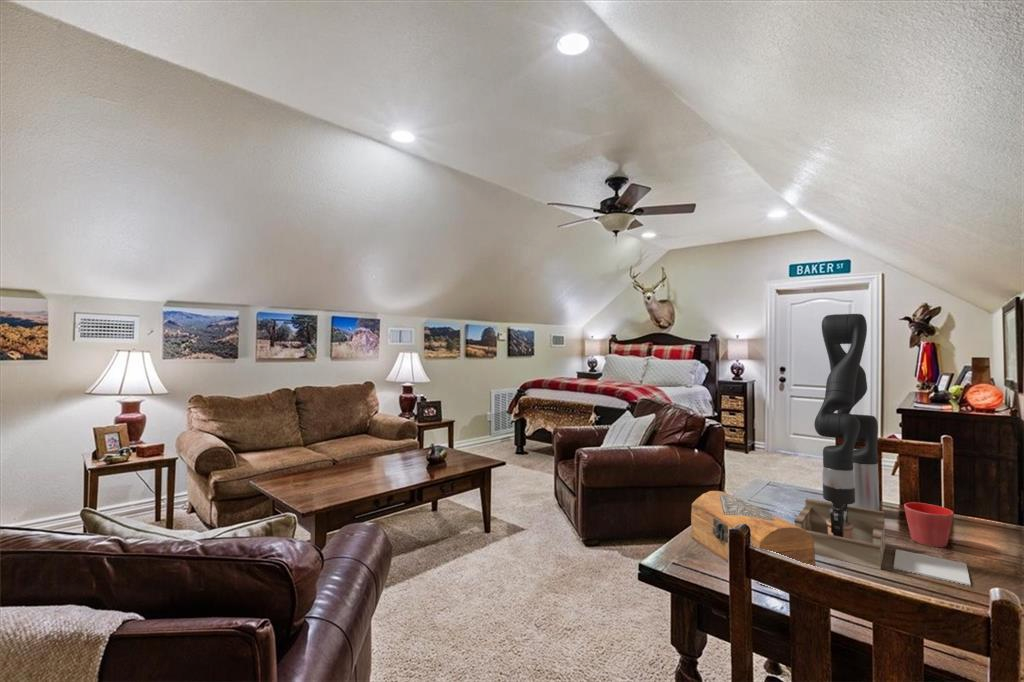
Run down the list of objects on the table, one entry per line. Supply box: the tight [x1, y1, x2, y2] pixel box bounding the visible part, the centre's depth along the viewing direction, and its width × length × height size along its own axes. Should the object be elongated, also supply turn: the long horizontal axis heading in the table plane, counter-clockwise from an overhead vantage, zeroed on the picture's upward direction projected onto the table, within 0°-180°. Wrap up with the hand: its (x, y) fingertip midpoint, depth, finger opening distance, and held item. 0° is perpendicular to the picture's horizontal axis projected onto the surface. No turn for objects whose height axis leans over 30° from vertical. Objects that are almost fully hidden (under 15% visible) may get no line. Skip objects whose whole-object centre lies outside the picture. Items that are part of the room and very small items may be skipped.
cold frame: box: [794, 497, 886, 570], centre depth 133 cm, size 19×19×10 cm
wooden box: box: [690, 490, 816, 587], centre depth 127 cm, size 30×16×14 cm, turn 10°
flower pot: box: [903, 501, 954, 548], centre depth 136 cm, size 11×11×10 cm
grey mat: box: [893, 548, 971, 587], centre depth 120 cm, size 14×14×1 cm
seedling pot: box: [826, 519, 853, 539], centre depth 133 cm, size 6×6×9 cm
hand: (840, 543), depth 133 cm, fingers closed on seedling pot, 5 cm apart
